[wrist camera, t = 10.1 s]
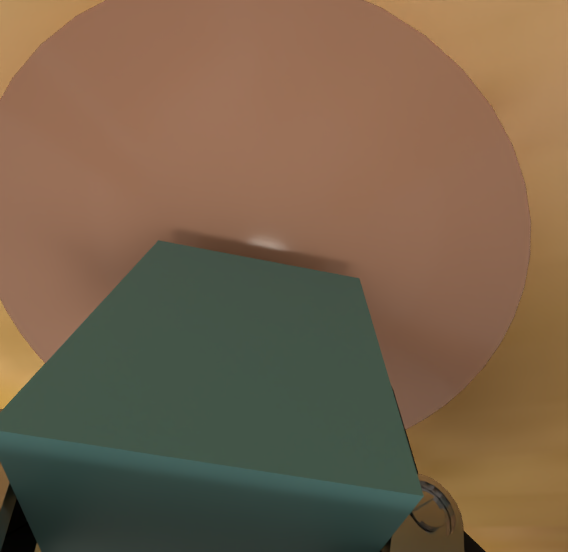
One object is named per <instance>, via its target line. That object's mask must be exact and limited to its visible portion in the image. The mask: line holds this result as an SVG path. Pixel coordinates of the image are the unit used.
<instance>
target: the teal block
mask: <svg viewBox="0 0 568 552" xmlns="http://www.w3.org/2000/svg"><path fill="white" fill-rule="evenodd" d="M0 462H1V465H2V467H3V469H4V471H5V473H6V476H7V478H8V480H9V482H10V484H11V486H12V489H13V491H14V493H15V495H16V497H17V500H18V502H19V504H20V506H21V508H22V511H23V513H24V515H25V517H26V519H27V522H28V524H29V526H30V528H31V530H32V533H33V535H34V537H35V539H36V541H37V544H38V546H39V548H40V550H41V552H380V550H381V549H382V548H383V547H384V545H385V544H386V543H387V542H388V540H389V539H390V538H391V537H392V535H393V534H394V533H395V532H396V530H397V529H398V528H399V527H400V525H401V524H402V523H403V522H404V520H405V519H406V518H407V517H408V515H409V514H410V513H411V512H412V510H413V509H414V508H415V507H416V505H417V504H418V503H419V502H420V500H421V499H422V498H423V497H424V495H423V492H422V488H421V485H420V482H419V478H418V475H417V471H416V468H415V465H414V461H413V458H412V455H411V451H410V448H409V444H408V441H407V438H406V434H405V431H404V427H403V424H402V421H401V417H400V414H399V411H398V407H397V404H396V400H395V397H394V394H393V390H392V387H391V383H390V380H389V377H388V373H387V370H386V367H385V363H384V360H383V356H382V353H381V350H380V346H379V343H378V339H377V336H376V333H375V329H374V326H373V323H372V319H371V316H370V312H369V309H368V306H367V302H366V299H365V295H364V292H363V289H362V285H361V282H360V279H359V278H355V277H350V276H345V275H339V274H334V273H329V272H323V271H318V270H313V269H308V268H302V267H297V266H292V265H286V264H281V263H276V262H271V261H265V260H260V259H255V258H249V257H244V256H239V255H234V254H228V253H223V252H218V251H212V250H207V249H202V248H196V247H191V246H186V245H181V244H175V243H170V242H165V241H159V240H158V241H157V242H156V243H155V245H154V246H153V247H152V248H151V249H150V250H149V251H148V252H147V253H146V254H145V255H144V256H143V258H142V259H141V260H140V261H139V262H138V263H137V264H136V265H135V266H134V267H133V268H132V270H131V271H130V272H129V273H128V274H127V275H126V276H125V277H124V278H123V279H122V280H121V281H120V283H119V284H118V285H117V286H116V287H115V288H114V289H113V290H112V291H111V292H110V293H109V295H108V296H107V297H106V298H105V299H104V300H103V301H102V302H101V303H100V304H99V305H98V306H97V308H96V309H95V310H94V311H93V312H92V313H91V314H90V315H89V316H88V317H87V318H86V320H85V321H84V322H83V323H82V324H81V325H80V326H79V327H78V328H77V329H76V330H75V332H74V333H73V334H72V335H71V336H70V337H69V338H68V339H67V340H66V341H65V342H64V343H63V345H62V346H61V347H60V348H59V349H58V350H57V351H56V352H55V353H54V354H53V355H52V357H51V358H50V359H49V360H48V361H47V362H46V363H45V364H44V365H43V366H42V367H41V368H40V370H39V371H38V372H37V373H36V374H35V375H34V376H33V377H32V378H31V379H30V380H29V382H28V383H27V384H26V385H25V386H24V387H23V388H22V389H21V390H20V391H19V392H18V394H17V395H16V396H15V397H14V398H13V399H12V400H11V401H10V402H9V403H8V404H7V405H6V407H5V408H4V409H3V410H2V411H1V412H0Z"/></svg>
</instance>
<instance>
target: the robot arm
mask: <svg viewBox="0 0 568 552" xmlns="http://www.w3.org/2000/svg"><path fill="white" fill-rule="evenodd" d="M391 387H392V386H391ZM392 390H393V388H392ZM393 394H394V390H393ZM394 397H395V394H394ZM395 400H396V397H395ZM396 404H397V400H396ZM397 407H398V404H397ZM2 410H3V409H0V412H1V411H2ZM398 411H399V414H400V410H399V407H398ZM400 417H401V414H400ZM401 421H402V424H403V420H402V417H401ZM403 427H404V424H403ZM404 431H405V427H404ZM405 434H406V431H405ZM406 438H407V441H408V437H407V434H406ZM408 444H409V441H408ZM409 448H410V451H411V447H410V444H409ZM411 455H412V458H413V461H414V457H413V454H412V451H411ZM414 465H415V468H416V464H415V461H414ZM416 471H417V468H416ZM417 475H418V478H419V482H420V485H421V488H422V492H423V495H424V497H423V498H422V499H421V500H420V502H419V503H418V504H417V505H416V507H415V508H414V509H413V510H412V512H411V513H410V514H409V515H408V517H407V518H406V519H405V520H404V522H403V523H402V524H401V525H400V527H399V528H398V529H397V530H396V532H395V533H394V534H393V535H392V537H391V538H390V539H389V540H388V542H387V543H386V544H385V545H384V547H383V548H382V549H381V550H380V552H485V551H484V550H483V549H482V548H481V547H480V546H479V545H478V544H477V543H476V542H475V541H474V540H473V539H472V538H471V537H470V536H469V535H468V534H467V533H466V532H464V531H463V521H462V516H461V513H460V510H459V508H458V506H457V503H456V502H455V500H454V499H453V498H452V496H451V495H450V493H449V492H448V491H447V490H446V489H445V488H444V487H443V486H442V485H441V484H440V483H438V482H437V481H435V480H434V479H432V478H430V477H428V476H425V475H422V474H418V471H417ZM0 552H41V550H40V548H39V546H38V544H37V541H36V539H35V537H34V535H33V533H32V530H31V528H30V526H29V524H28V522H27V519H26V517H25V515H24V513H23V511H22V508H21V506H20V504H19V502H18V500H17V497H16V495H15V493H14V491H13V489H12V486H11V484H10V482H9V480H8V478H7V476H6V473H5V471H4V469H3V467H2V465H1V462H0Z"/></svg>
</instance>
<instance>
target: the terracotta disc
mask: <svg viewBox="0 0 568 552" xmlns="http://www.w3.org/2000/svg"><path fill="white" fill-rule="evenodd" d="M530 232H531V219H530V212H529V206H528V199H527V192H526V186H525V181H524V178H523V175H522V172H521V169H520V166H519V163H518V160H517V157H516V154H515V151H514V148H513V145H512V143H511V141H510V140H509V138H508V136H507V134H506V132H505V130H504V128H503V126H502V125H501V123H500V121H499V119H498V117H497V115H496V113H495V111H494V110H493V108H492V106H491V105H490V104H489V102H488V101H487V100H486V98H485V97H484V96H483V95H482V93H481V92H480V91H479V89H478V88H477V87H476V86H475V84H474V83H473V82H472V80H471V79H470V78H469V77H468V75H467V74H466V73H465V71H464V70H463V69H462V68H461V67H460V66H458V65H457V64H456V63H455V62H454V61H453V60H452V59H451V58H450V57H449V56H447V55H446V54H445V53H444V52H443V51H442V50H441V49H440V48H439V47H438V46H436V45H435V44H434V43H433V42H432V41H431V40H430V39H429V38H428V37H427V36H425V35H423V34H422V33H420V32H419V31H417V30H416V29H414V28H412V27H411V26H409V25H408V24H406V23H405V22H403V21H401V20H400V19H398V18H397V17H395V16H394V15H392V14H391V13H389V12H387V11H386V10H384V9H383V8H381V7H378V6H376V5H374V4H371V3H369V2H366V1H364V0H105V1H103V2H102V3H100V4H98V5H96V6H94V7H92V8H90V9H88V10H87V11H85V12H83V13H81V14H79V15H77V16H75V17H74V18H73V19H72V20H71V21H69V22H68V23H67V24H66V25H64V26H63V27H62V28H61V29H59V30H58V31H57V32H56V33H54V34H53V35H52V36H51V37H50V38H48V39H47V40H46V41H45V42H43V43H42V44H41V45H40V46H39V47H38V48H37V49H36V51H35V52H34V53H33V54H32V55H31V57H30V58H29V59H28V60H27V61H26V63H25V64H24V65H23V66H22V67H21V68H20V70H19V71H18V72H17V73H16V74H15V76H14V77H13V78H12V80H11V82H10V83H9V85H8V87H7V89H6V91H5V92H4V94H3V96H2V98H1V100H0V299H1V301H2V303H3V305H4V308H5V309H6V311H7V313H8V314H9V316H10V317H11V319H12V321H13V322H14V324H15V325H16V327H17V329H18V330H19V332H20V333H21V335H22V336H23V337H24V338H25V340H26V341H27V342H28V343H29V345H30V346H31V347H32V349H33V350H34V351H35V352H36V354H37V355H38V356H39V357H40V358H41V359H42V360H43V361H44V362H45V363H46V362H47V361H48V360H49V359H50V358H51V357H52V355H53V354H54V353H55V352H56V351H57V350H58V349H59V348H60V347H61V346H62V345H63V343H64V342H65V341H66V340H67V339H68V338H69V337H70V336H71V335H72V334H73V333H74V332H75V330H76V329H77V328H78V327H79V326H80V325H81V324H82V323H83V322H84V321H85V320H86V318H87V317H88V316H89V315H90V314H91V313H92V312H93V311H94V310H95V309H96V308H97V306H98V305H99V304H100V303H101V302H102V301H103V300H104V299H105V298H106V297H107V296H108V295H109V293H110V292H111V291H112V290H113V289H114V288H115V287H116V286H117V285H118V284H119V283H120V281H121V280H122V279H123V278H124V277H125V276H126V275H127V274H128V273H129V272H130V271H131V270H132V268H133V267H134V266H135V265H136V264H137V263H138V262H139V261H140V260H141V259H142V258H143V256H144V255H145V254H146V253H147V252H148V251H149V250H150V249H151V248H152V247H153V246H154V245H155V243H156V242H157V241H158V240H159V241H165V242H170V243H175V244H181V245H186V246H191V247H196V248H202V249H207V250H212V251H218V252H223V253H228V254H234V255H239V256H244V257H249V258H255V259H260V260H265V261H271V262H276V263H281V264H286V265H292V266H297V267H302V268H308V269H313V270H318V271H323V272H329V273H334V274H339V275H345V276H350V277H355V278H359V279H360V282H361V285H362V289H363V292H364V295H365V299H366V302H367V306H368V309H369V312H370V316H371V319H372V323H373V326H374V329H375V333H376V336H377V339H378V343H379V346H380V350H381V353H382V356H383V360H384V363H385V367H386V370H387V373H388V377H389V380H390V383H391V386H392V388H393V390H394V394H395V397H396V400H397V404H398V407H399V410H400V414H401V417H402V420H403V424H404V427H405V430H406V429H408V428H410V427H411V426H413V425H415V424H417V423H418V422H420V421H422V420H424V419H426V418H427V417H428V416H430V415H431V414H433V413H434V412H436V411H437V410H438V409H440V408H441V407H443V406H444V405H446V404H447V403H448V402H449V401H450V400H451V399H453V398H454V397H455V396H456V395H457V394H458V393H459V392H461V391H462V390H463V389H464V388H465V387H466V386H467V385H468V384H469V383H470V382H471V381H472V380H473V378H474V377H475V376H476V375H477V374H478V373H479V372H480V371H481V370H482V369H483V367H484V366H485V365H486V363H487V362H488V361H489V359H490V358H491V356H492V355H493V353H494V352H495V351H496V349H497V348H498V346H499V345H500V343H501V342H502V340H503V338H504V336H505V334H506V332H507V330H508V328H509V326H510V324H511V322H512V320H513V318H514V316H515V313H516V310H517V307H518V304H519V301H520V299H521V296H522V293H523V290H524V286H525V281H526V275H527V270H528V264H529V259H530Z"/></svg>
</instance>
